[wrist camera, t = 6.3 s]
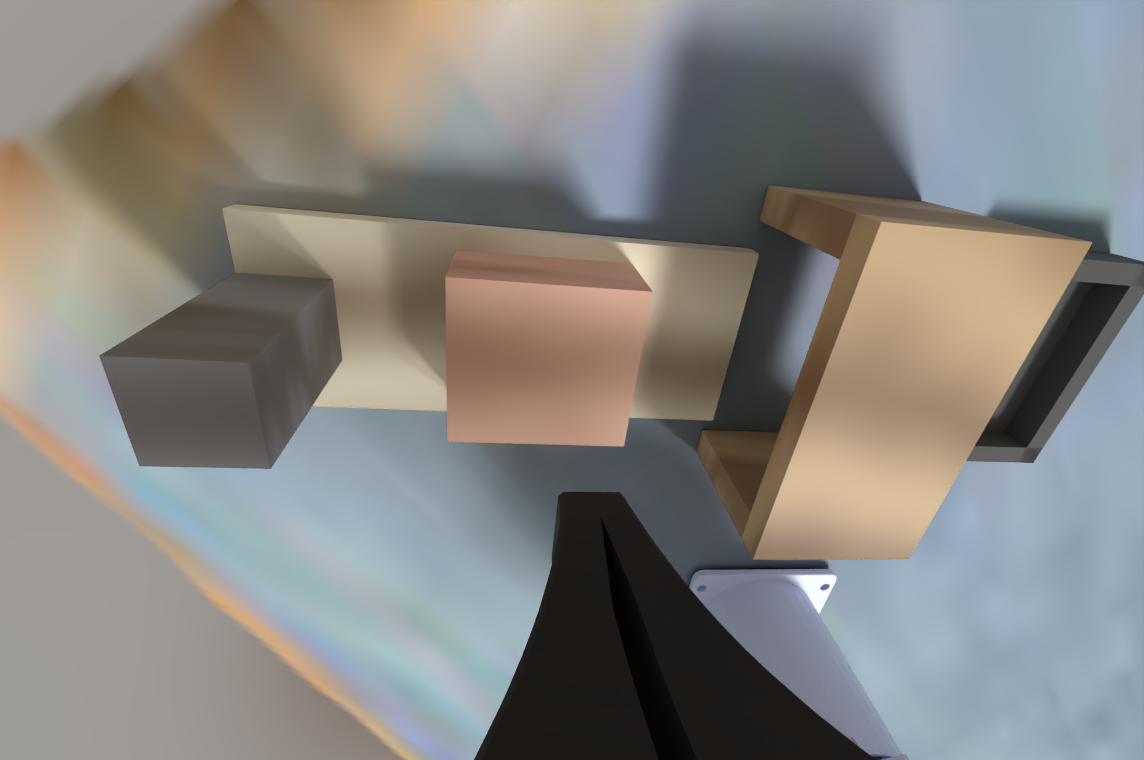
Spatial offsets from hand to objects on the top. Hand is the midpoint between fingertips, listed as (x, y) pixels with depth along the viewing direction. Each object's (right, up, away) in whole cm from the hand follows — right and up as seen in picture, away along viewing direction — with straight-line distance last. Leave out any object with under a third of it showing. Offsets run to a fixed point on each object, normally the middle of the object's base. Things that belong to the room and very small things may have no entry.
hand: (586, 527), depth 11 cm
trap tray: (+18, +4, +11) cm, 22 cm away
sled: (-3, +5, +8) cm, 10 cm away
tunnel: (+9, +5, +10) cm, 14 cm away
